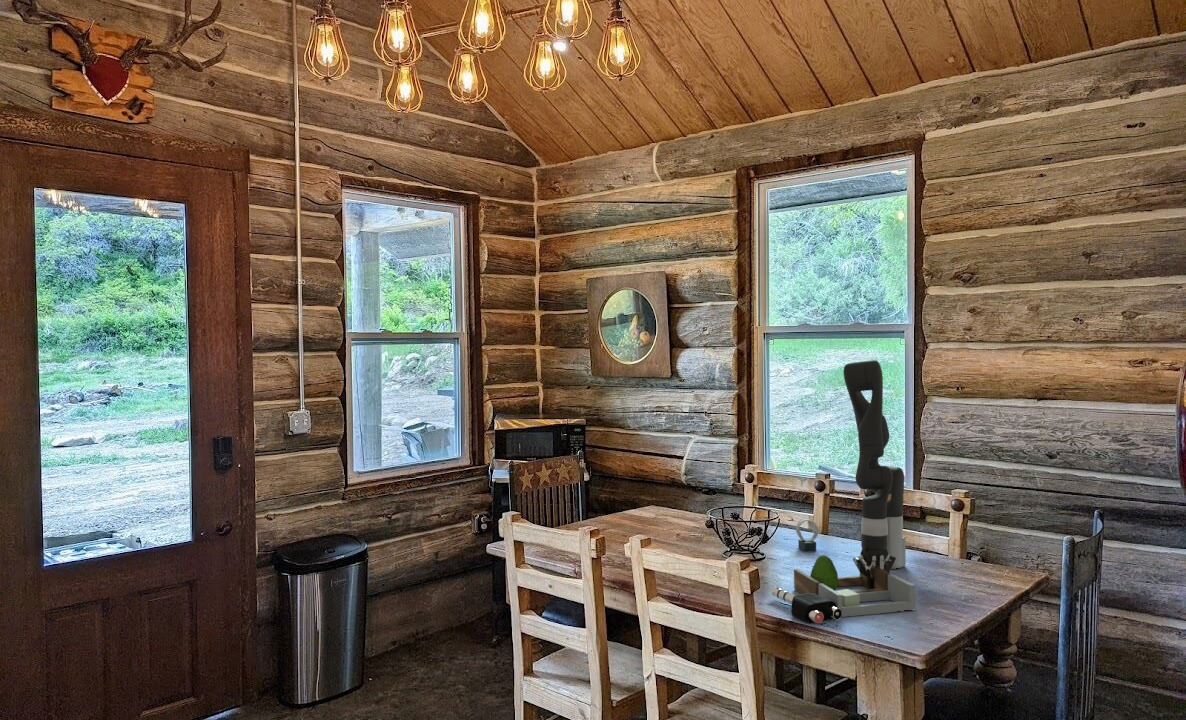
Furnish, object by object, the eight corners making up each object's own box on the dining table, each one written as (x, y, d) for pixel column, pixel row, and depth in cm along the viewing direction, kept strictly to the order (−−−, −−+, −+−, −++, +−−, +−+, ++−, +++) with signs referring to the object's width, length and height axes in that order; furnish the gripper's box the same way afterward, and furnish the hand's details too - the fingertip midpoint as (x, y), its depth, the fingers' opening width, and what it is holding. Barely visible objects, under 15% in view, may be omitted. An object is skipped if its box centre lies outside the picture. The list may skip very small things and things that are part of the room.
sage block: (847, 606, 231) (847, 588, 231) (859, 611, 226) (859, 594, 226) (833, 608, 229) (833, 591, 229) (845, 614, 224) (845, 596, 224)
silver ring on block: (821, 550, 291) (821, 520, 291) (800, 552, 290) (799, 521, 289) (814, 547, 296) (814, 517, 296) (793, 548, 295) (793, 518, 295)
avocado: (821, 600, 236) (821, 559, 236) (805, 593, 243) (804, 553, 243) (844, 597, 239) (843, 556, 239) (826, 589, 246) (826, 550, 246)
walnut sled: (864, 583, 252) (864, 560, 251) (890, 597, 238) (890, 573, 238) (794, 588, 247) (794, 566, 246) (816, 603, 233) (816, 579, 233)
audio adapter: (812, 608, 214) (756, 583, 237) (812, 628, 214) (756, 601, 237) (844, 602, 218) (786, 578, 241) (844, 622, 218) (786, 596, 241)
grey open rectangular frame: (892, 597, 237) (892, 574, 237) (915, 610, 226) (915, 585, 226) (818, 604, 232) (818, 580, 232) (838, 617, 221) (837, 591, 221)
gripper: (887, 527, 249) (888, 583, 250) (847, 530, 246) (847, 587, 247) (902, 533, 242) (902, 591, 242) (860, 536, 239) (860, 594, 239)
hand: (874, 588), depth 244 cm, fingers closed on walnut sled
